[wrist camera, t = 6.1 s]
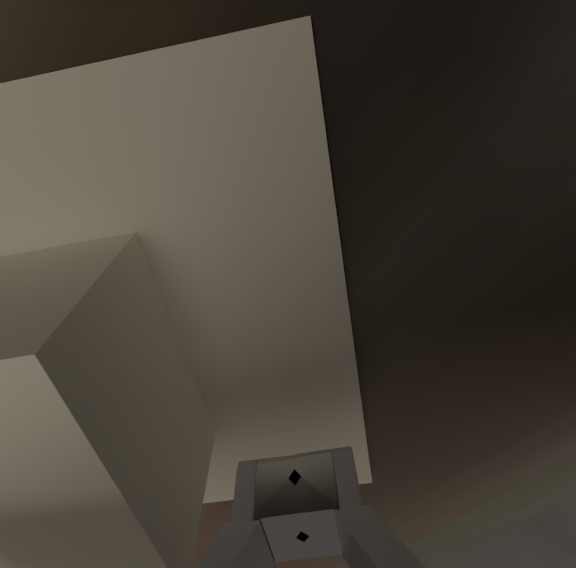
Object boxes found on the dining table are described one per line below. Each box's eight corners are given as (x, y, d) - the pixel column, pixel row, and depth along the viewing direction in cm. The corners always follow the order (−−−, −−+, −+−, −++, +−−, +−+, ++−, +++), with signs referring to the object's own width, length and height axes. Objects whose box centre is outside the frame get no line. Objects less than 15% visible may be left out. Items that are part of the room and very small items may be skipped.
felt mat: (309, 17, 11) (310, 15, 11) (370, 475, 21) (372, 482, 21) (-526, 199, 14) (-548, 203, 13) (-123, 536, 23) (-130, 544, 23)
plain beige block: (136, 231, 14) (34, 354, 8) (215, 432, 19) (185, 597, 13) (-40, 263, 14) (-250, 399, 9) (81, 451, 19) (-4, 617, 14)
